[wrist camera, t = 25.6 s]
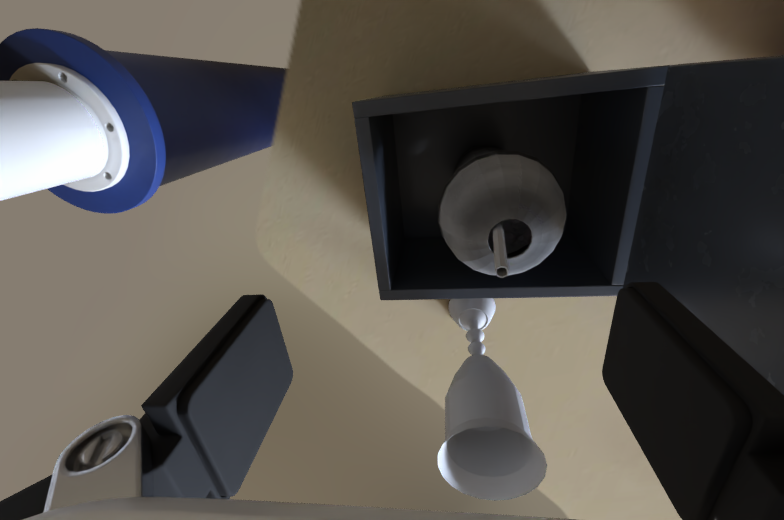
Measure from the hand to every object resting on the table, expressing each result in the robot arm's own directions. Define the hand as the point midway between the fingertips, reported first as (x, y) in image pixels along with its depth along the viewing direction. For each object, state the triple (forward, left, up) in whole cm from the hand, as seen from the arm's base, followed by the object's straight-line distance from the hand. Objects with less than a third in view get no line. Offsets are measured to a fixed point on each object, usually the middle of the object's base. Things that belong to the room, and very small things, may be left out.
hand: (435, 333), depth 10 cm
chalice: (+2, -16, -25) cm, 30 cm away
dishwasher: (+3, -1, -25) cm, 25 cm away
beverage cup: (+3, -1, -24) cm, 25 cm away
